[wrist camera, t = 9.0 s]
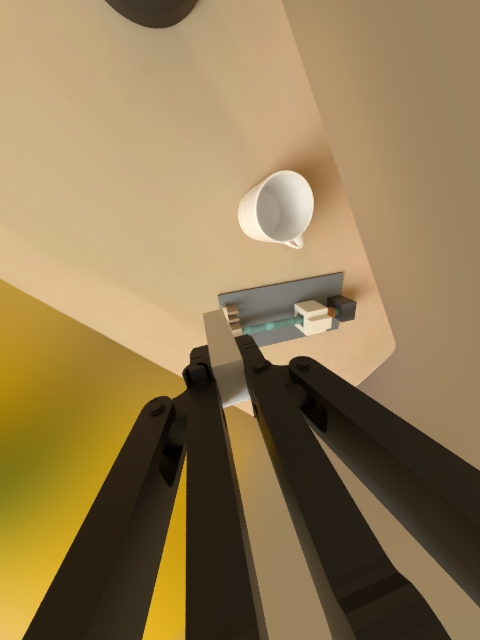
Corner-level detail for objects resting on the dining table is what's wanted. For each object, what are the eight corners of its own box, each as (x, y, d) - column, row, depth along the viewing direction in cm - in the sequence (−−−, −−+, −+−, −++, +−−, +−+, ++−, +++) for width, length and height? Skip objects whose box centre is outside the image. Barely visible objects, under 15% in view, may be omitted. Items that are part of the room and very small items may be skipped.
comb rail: (221, 304, 42) (226, 314, 36) (338, 281, 46) (358, 287, 41) (228, 345, 46) (233, 360, 40) (335, 321, 50) (352, 331, 45)
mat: (217, 295, 41) (218, 295, 40) (341, 272, 45) (343, 272, 45) (227, 352, 46) (228, 354, 46) (336, 327, 51) (337, 328, 50)
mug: (269, 262, 41) (294, 272, 31) (226, 213, 35) (241, 206, 26) (300, 230, 39) (336, 229, 30) (261, 174, 34) (290, 152, 25)
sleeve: (294, 303, 43) (311, 315, 37) (313, 299, 44) (332, 310, 38) (294, 325, 45) (310, 339, 40) (312, 321, 46) (330, 334, 40)
